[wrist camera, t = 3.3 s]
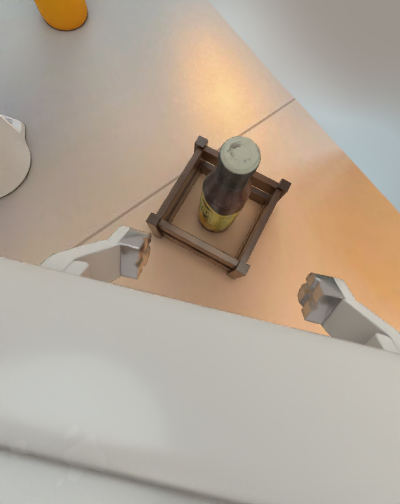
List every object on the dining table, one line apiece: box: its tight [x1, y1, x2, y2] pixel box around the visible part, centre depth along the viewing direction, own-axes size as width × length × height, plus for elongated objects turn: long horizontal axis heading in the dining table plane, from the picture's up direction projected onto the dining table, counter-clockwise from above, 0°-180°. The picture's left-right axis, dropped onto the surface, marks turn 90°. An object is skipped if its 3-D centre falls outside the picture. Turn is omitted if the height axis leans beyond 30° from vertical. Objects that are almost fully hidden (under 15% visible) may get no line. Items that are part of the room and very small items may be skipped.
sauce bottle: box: [199, 136, 261, 232], centre depth 31 cm, size 6×6×20 cm
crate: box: [146, 136, 291, 279], centre depth 38 cm, size 16×16×7 cm
